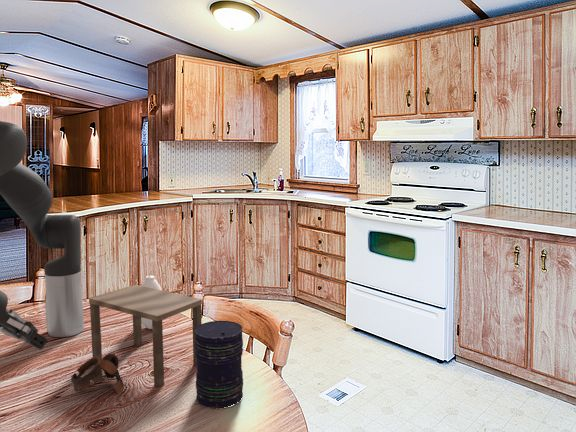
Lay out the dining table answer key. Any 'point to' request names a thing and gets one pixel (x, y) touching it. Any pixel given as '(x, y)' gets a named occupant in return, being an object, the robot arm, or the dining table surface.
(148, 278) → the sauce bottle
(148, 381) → the dining table surface
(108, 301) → the wooden side table
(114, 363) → the pottery mug
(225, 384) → the dark blue cylinder
